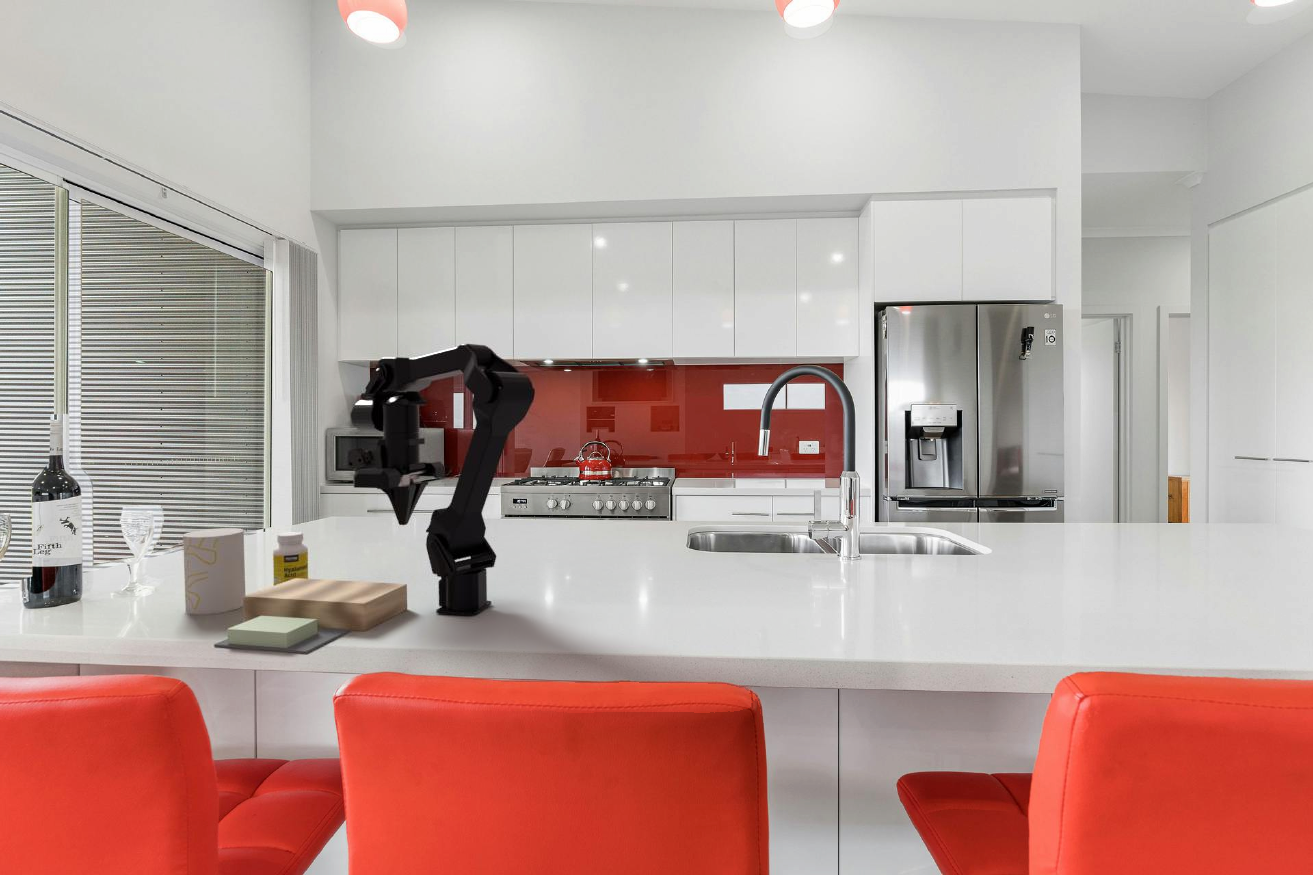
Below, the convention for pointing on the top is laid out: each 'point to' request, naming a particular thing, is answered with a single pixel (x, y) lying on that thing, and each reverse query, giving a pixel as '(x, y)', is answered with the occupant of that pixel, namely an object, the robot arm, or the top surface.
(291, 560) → the supplement bottle
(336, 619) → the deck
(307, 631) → the pale green foam block
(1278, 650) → the top surface
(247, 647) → the mat
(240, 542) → the cup
